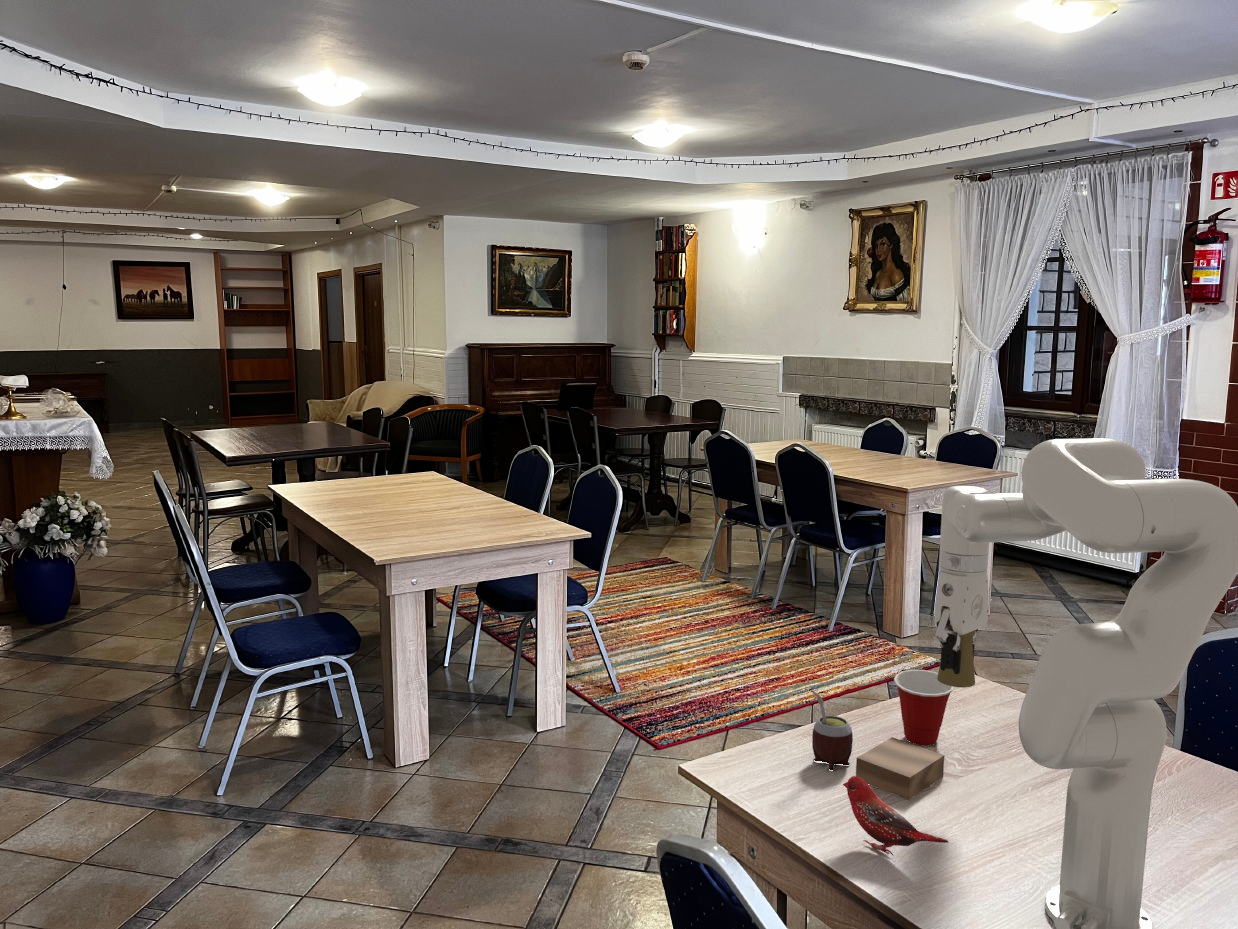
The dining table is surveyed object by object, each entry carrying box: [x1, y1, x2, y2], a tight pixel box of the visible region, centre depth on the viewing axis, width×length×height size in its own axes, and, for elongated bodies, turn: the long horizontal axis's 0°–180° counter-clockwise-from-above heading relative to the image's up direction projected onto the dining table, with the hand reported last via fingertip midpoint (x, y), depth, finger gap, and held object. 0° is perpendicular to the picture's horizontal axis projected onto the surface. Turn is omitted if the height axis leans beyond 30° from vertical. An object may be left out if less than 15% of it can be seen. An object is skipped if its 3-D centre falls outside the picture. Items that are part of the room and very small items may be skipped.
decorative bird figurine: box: [842, 775, 949, 856], centre depth 135 cm, size 3×18×10 cm, turn 41°
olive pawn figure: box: [937, 626, 977, 689], centre depth 153 cm, size 6×6×11 cm
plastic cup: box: [893, 669, 955, 747], centre depth 175 cm, size 11×11×12 cm
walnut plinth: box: [855, 736, 945, 801], centre depth 160 cm, size 12×10×4 cm
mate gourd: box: [810, 689, 854, 771], centre depth 164 cm, size 8×8×15 cm
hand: (956, 667), depth 154 cm, fingers closed on olive pawn figure, 3 cm apart
